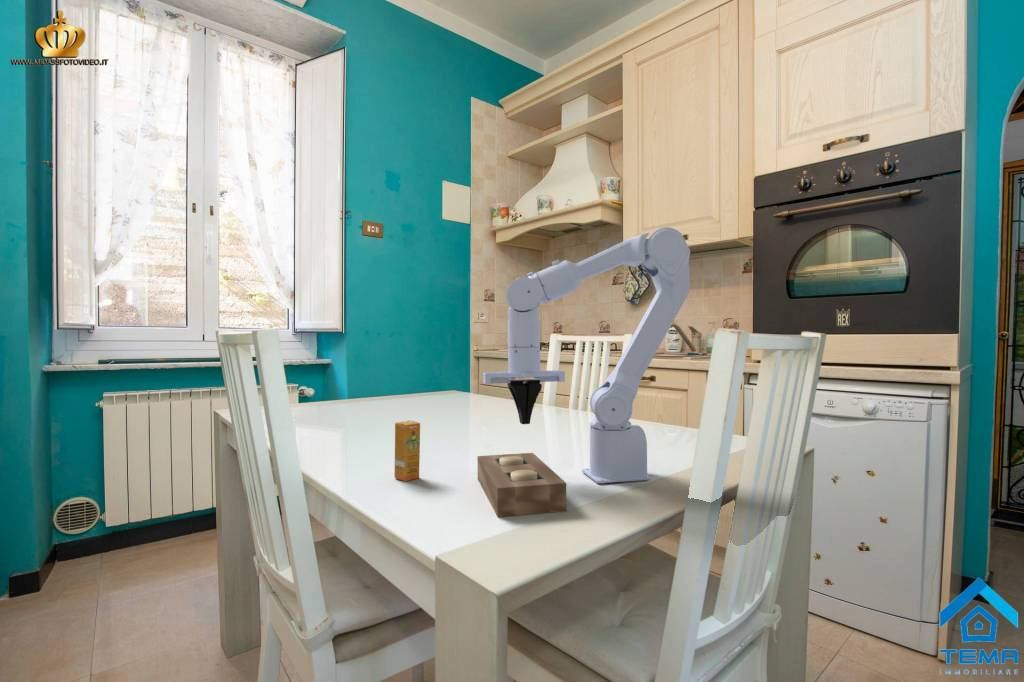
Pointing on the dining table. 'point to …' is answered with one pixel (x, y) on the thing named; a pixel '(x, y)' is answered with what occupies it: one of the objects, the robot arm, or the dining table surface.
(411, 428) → the supplement box
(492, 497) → the wooden peg hole block
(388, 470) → the dining table surface
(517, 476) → the peg
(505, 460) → the peg
